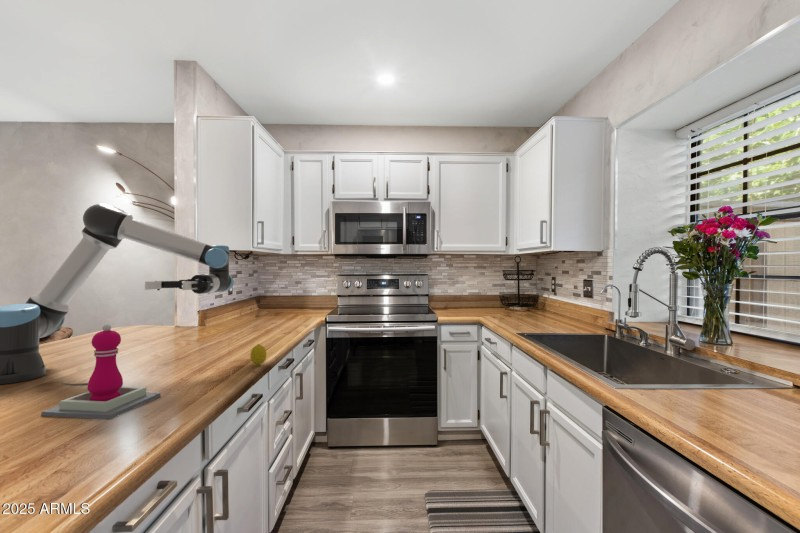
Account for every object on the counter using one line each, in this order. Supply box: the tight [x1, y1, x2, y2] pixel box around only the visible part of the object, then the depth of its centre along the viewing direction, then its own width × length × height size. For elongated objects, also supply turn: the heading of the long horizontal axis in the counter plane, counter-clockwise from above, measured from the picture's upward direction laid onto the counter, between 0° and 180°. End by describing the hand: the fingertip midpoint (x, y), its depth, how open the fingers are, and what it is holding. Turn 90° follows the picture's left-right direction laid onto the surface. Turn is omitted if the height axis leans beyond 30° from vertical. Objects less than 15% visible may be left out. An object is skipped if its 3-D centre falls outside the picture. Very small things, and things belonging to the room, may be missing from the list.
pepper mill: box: [86, 324, 124, 401], centre depth 96 cm, size 7×7×20 cm
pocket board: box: [40, 385, 161, 420], centre depth 96 cm, size 18×16×3 cm
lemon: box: [250, 343, 267, 367], centre depth 137 cm, size 6×6×8 cm
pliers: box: [61, 381, 88, 386], centre depth 116 cm, size 10×1×20 cm
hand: (164, 285), depth 123 cm, fingers open, 13 cm apart
